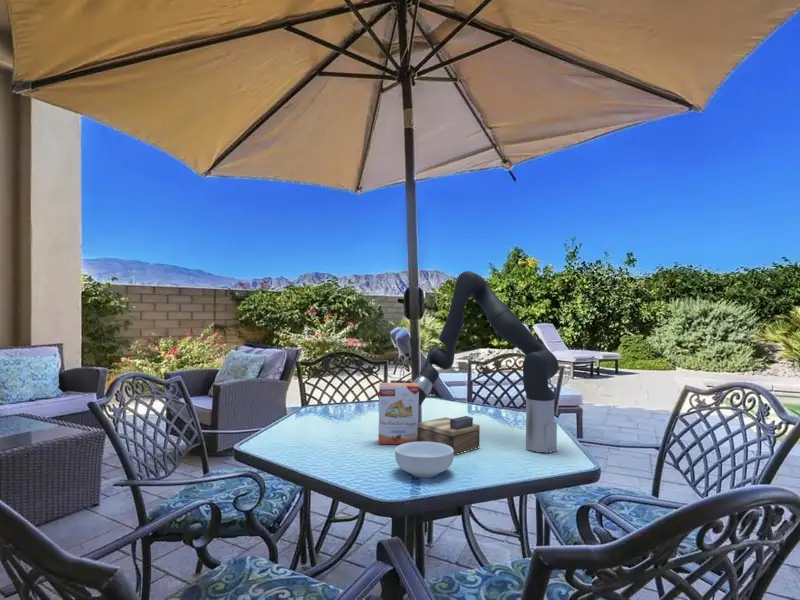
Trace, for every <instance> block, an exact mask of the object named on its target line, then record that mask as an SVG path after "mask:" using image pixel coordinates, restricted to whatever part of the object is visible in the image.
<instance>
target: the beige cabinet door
mask: <svg viewBox="0 0 800 600" xmlns="http://www.w3.org/2000/svg"><path fill="white" fill-rule="evenodd" d="M418 428H423V429H427V430H430V431H434V432H438V433H441V434H445V435H448V436H455V435H460V434H464V433H468V432H472V431H476V430H479V431H481V430H480V428H481V427H480V425H479V424H474V417H472V416H468V415H464V416H460V417H453V418H450V417H448V416H447V417H439V418H435V419H430V420H425V421H424V420H423V421H420V422H419V421H418Z"/></svg>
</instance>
